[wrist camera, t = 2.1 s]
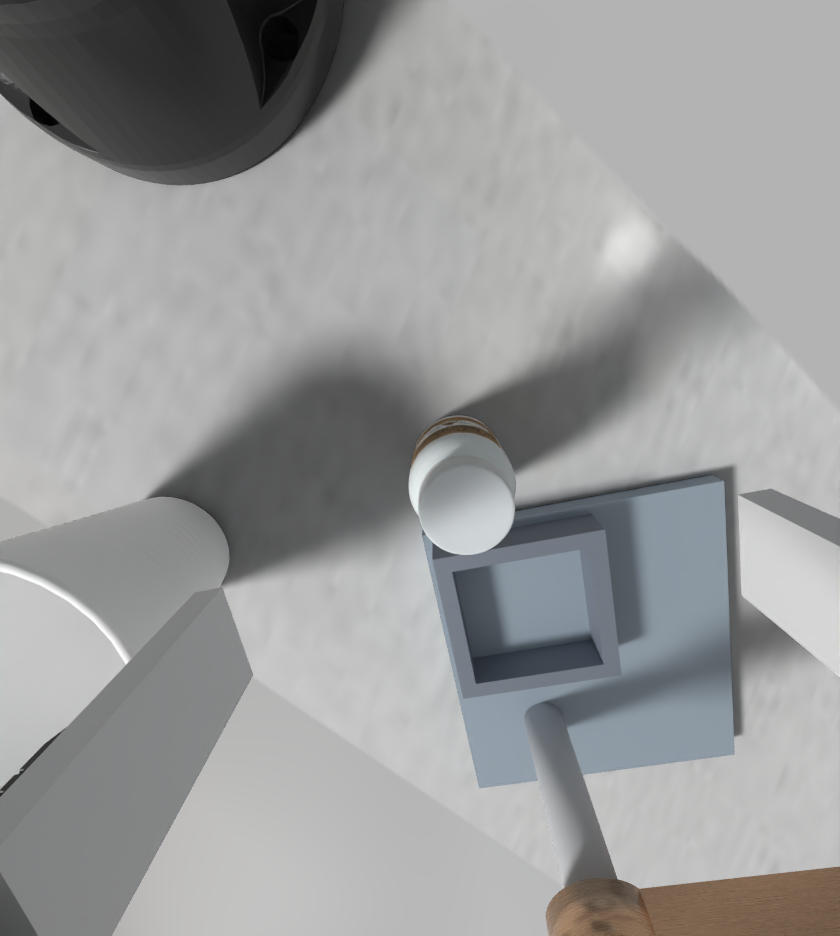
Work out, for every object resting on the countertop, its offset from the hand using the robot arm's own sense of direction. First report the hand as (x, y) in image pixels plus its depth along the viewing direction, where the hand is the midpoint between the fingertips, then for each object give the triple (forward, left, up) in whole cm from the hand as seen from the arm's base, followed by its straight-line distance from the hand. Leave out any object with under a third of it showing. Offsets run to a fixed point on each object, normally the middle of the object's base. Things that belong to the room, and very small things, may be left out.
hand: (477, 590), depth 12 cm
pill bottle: (0, 0, -13) cm, 13 cm away
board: (+12, +5, -13) cm, 18 cm away
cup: (+2, -16, -13) cm, 20 cm away
